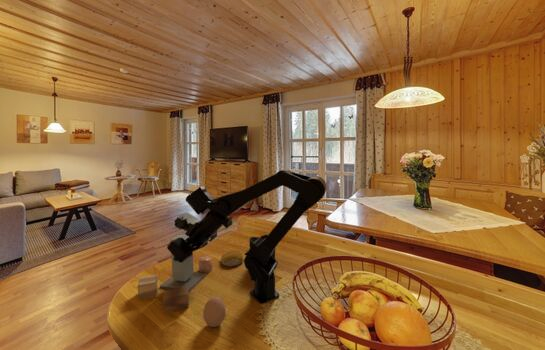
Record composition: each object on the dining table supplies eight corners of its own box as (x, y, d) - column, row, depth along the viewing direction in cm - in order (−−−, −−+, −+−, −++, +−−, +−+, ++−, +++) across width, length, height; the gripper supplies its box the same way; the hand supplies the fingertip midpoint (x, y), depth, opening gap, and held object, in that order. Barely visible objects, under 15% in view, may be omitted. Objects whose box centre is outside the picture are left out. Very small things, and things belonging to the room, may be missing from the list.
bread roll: (241, 255, 94) (241, 245, 94) (244, 265, 85) (244, 255, 85) (220, 257, 92) (220, 247, 92) (221, 268, 83) (220, 257, 83)
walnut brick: (188, 299, 66) (188, 285, 65) (188, 308, 62) (188, 294, 61) (165, 304, 64) (164, 290, 63) (163, 313, 60) (162, 299, 59)
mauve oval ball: (205, 336, 52) (204, 307, 52) (202, 321, 57) (201, 294, 56) (228, 328, 54) (227, 301, 54) (223, 314, 59) (222, 289, 58)
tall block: (193, 274, 76) (191, 235, 75) (185, 281, 72) (183, 240, 71) (181, 272, 77) (179, 234, 76) (172, 279, 73) (170, 239, 72)
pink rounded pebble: (214, 270, 81) (213, 259, 81) (201, 274, 79) (200, 263, 78) (209, 265, 85) (209, 255, 84) (197, 269, 82) (196, 258, 82)
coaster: (206, 275, 78) (206, 273, 78) (188, 292, 69) (188, 290, 69) (180, 271, 81) (180, 269, 81) (159, 287, 71) (159, 285, 71)
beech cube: (156, 296, 67) (155, 282, 66) (138, 300, 65) (137, 285, 65) (158, 288, 71) (157, 274, 71) (141, 291, 69) (140, 277, 69)
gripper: (207, 199, 80) (181, 228, 84) (171, 213, 62) (140, 249, 66) (229, 223, 79) (202, 251, 83) (198, 244, 61) (165, 279, 65)
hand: (179, 256), depth 74 cm, fingers closed on tall block, 4 cm apart
